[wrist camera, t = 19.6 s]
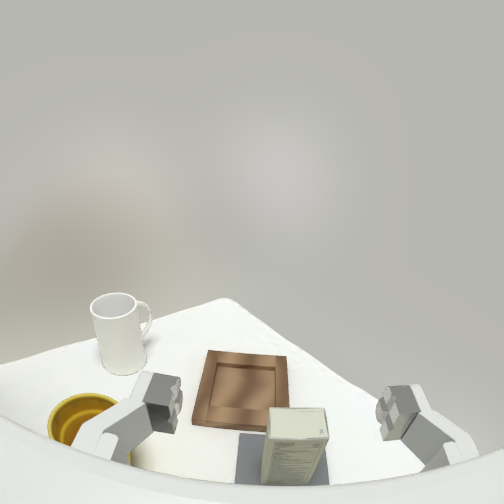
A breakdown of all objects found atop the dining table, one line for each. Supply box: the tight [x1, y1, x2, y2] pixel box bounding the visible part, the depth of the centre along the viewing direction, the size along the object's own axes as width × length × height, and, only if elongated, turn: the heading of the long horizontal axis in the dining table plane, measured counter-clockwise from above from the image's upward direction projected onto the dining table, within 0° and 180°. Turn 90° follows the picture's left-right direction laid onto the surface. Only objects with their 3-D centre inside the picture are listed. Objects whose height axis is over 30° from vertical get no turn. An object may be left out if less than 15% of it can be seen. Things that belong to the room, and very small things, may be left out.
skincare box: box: [261, 407, 329, 485], centre depth 31 cm, size 6×4×12 cm
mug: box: [90, 293, 152, 375], centre depth 50 cm, size 12×8×12 cm
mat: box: [235, 433, 329, 486], centre depth 34 cm, size 12×12×1 cm
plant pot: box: [48, 393, 132, 464], centre depth 29 cm, size 10×10×10 cm
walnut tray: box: [192, 350, 289, 432], centre depth 47 cm, size 14×16×2 cm
